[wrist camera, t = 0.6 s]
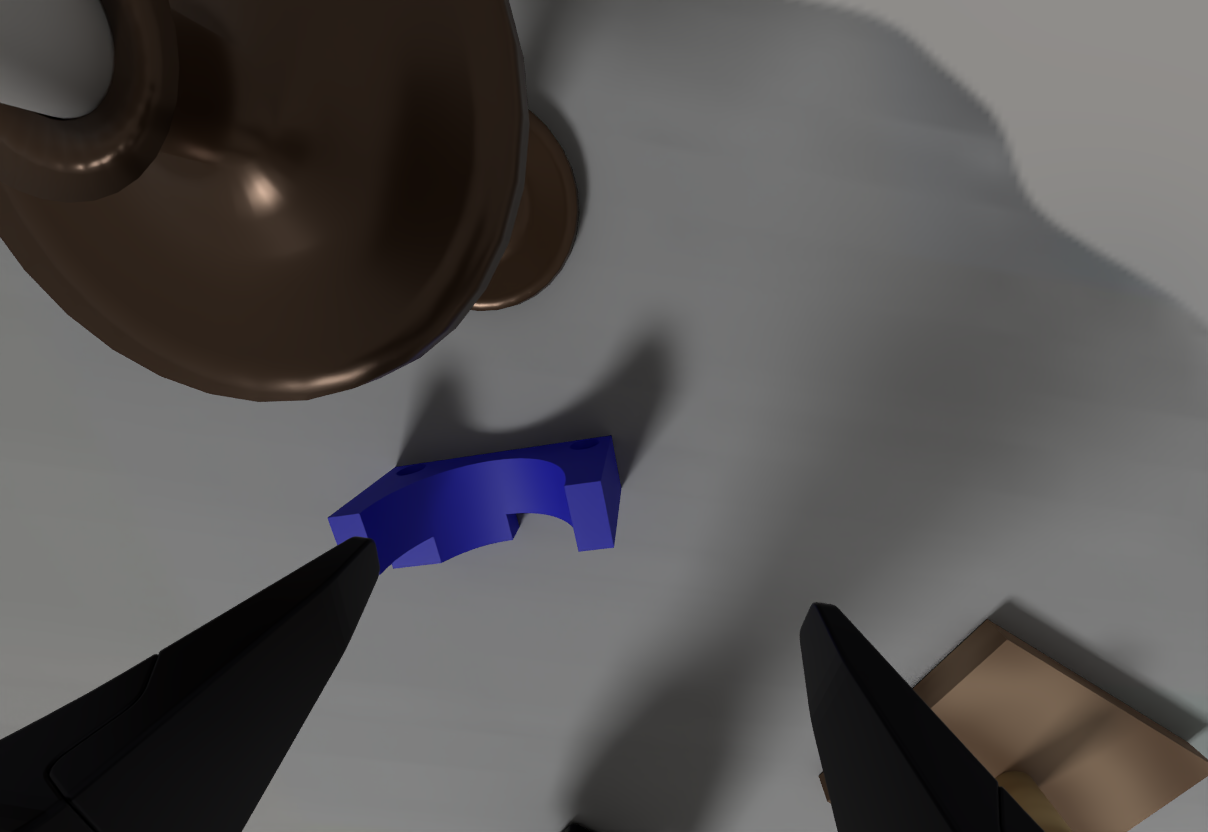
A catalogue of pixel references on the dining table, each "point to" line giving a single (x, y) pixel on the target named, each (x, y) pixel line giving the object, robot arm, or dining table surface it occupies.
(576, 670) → the dining table surface
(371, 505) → the cable clip
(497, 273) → the candlestick
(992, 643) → the post block
